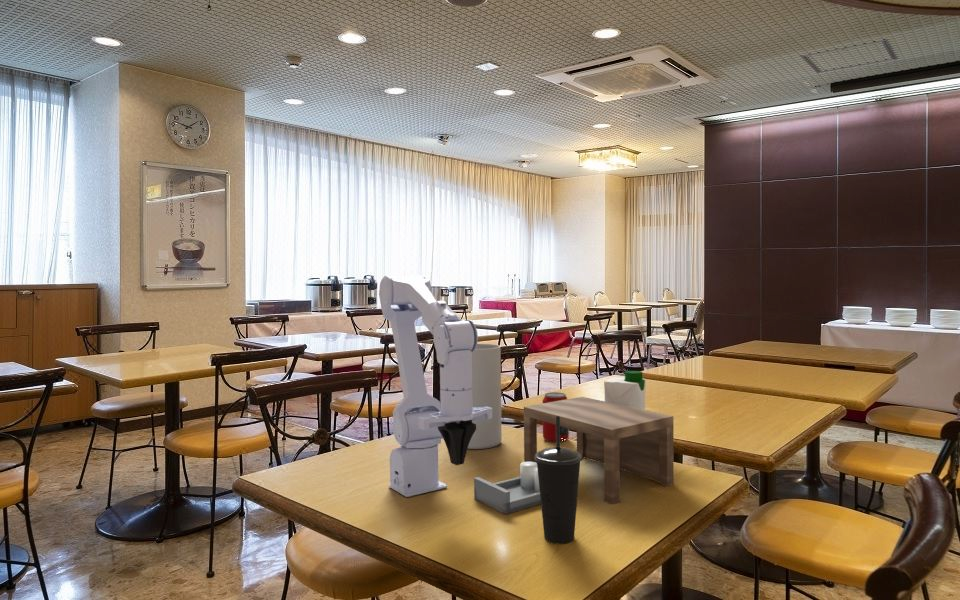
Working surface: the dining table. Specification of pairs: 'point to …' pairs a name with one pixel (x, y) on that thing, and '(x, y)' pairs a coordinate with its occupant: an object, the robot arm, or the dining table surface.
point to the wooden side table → (610, 438)
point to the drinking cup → (558, 489)
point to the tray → (511, 490)
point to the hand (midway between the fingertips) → (457, 463)
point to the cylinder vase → (486, 395)
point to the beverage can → (550, 428)
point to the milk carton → (626, 390)
